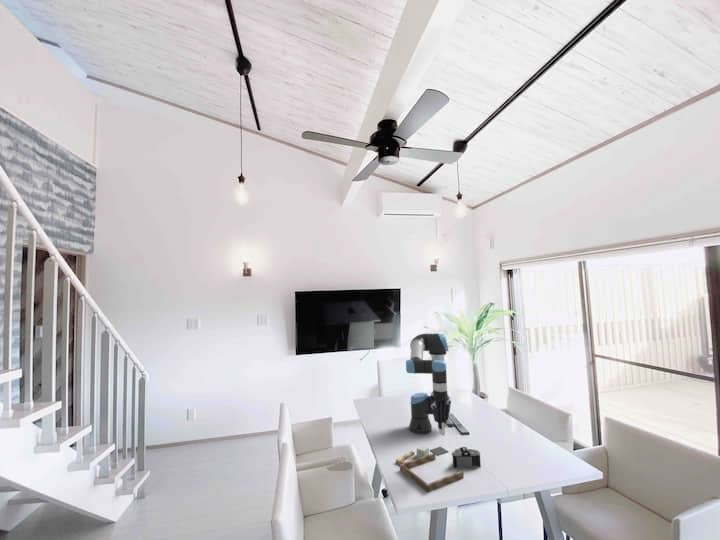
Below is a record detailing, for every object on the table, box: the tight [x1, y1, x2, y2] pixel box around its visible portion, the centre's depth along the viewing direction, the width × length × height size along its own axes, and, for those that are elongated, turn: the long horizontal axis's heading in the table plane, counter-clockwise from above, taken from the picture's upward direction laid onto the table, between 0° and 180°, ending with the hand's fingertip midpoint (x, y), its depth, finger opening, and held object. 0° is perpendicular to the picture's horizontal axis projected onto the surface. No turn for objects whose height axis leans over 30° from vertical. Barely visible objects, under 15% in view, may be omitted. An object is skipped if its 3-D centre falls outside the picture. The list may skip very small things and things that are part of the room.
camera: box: [451, 446, 481, 469], centre depth 180 cm, size 16×9×10 cm, turn 89°
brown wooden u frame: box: [399, 452, 464, 493], centre depth 172 cm, size 23×22×3 cm
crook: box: [395, 450, 415, 466], centre depth 186 cm, size 14×7×2 cm, turn 132°
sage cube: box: [416, 445, 430, 459], centre depth 190 cm, size 5×5×5 cm
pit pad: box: [429, 446, 449, 457], centre depth 195 cm, size 8×7×1 cm
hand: (442, 434), depth 177 cm, fingers closed
